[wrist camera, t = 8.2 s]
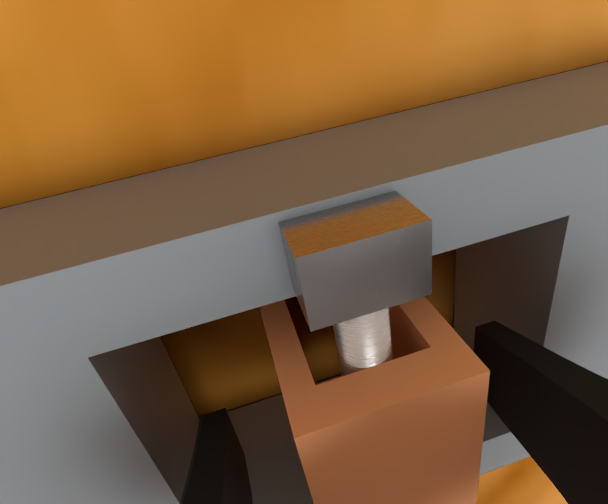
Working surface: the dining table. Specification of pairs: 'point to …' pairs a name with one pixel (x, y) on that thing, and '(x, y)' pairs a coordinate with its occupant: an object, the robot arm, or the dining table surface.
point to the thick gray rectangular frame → (293, 278)
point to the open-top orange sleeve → (388, 414)
